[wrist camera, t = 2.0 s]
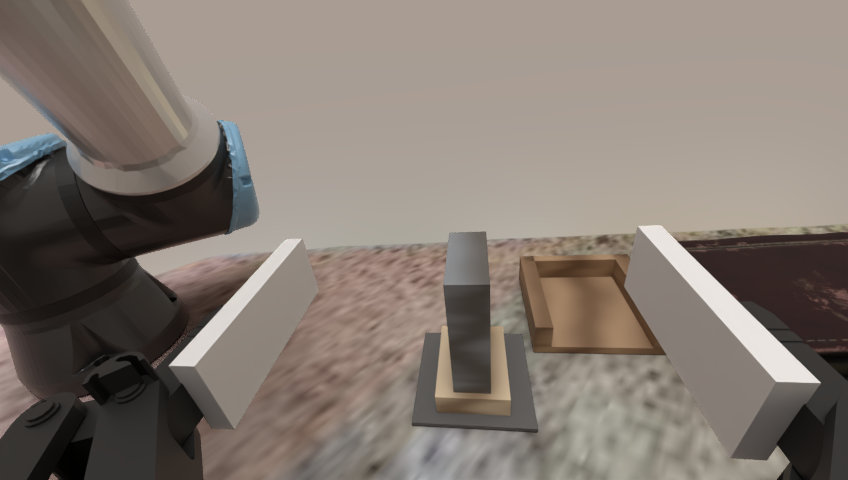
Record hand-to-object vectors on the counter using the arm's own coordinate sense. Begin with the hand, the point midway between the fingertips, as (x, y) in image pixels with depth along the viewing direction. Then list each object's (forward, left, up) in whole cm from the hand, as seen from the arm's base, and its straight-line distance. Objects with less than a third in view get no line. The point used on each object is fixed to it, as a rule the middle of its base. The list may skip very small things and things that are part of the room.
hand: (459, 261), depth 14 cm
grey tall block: (0, +10, -19) cm, 21 cm away
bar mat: (0, +10, -19) cm, 22 cm away
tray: (+12, +19, -19) cm, 30 cm away
